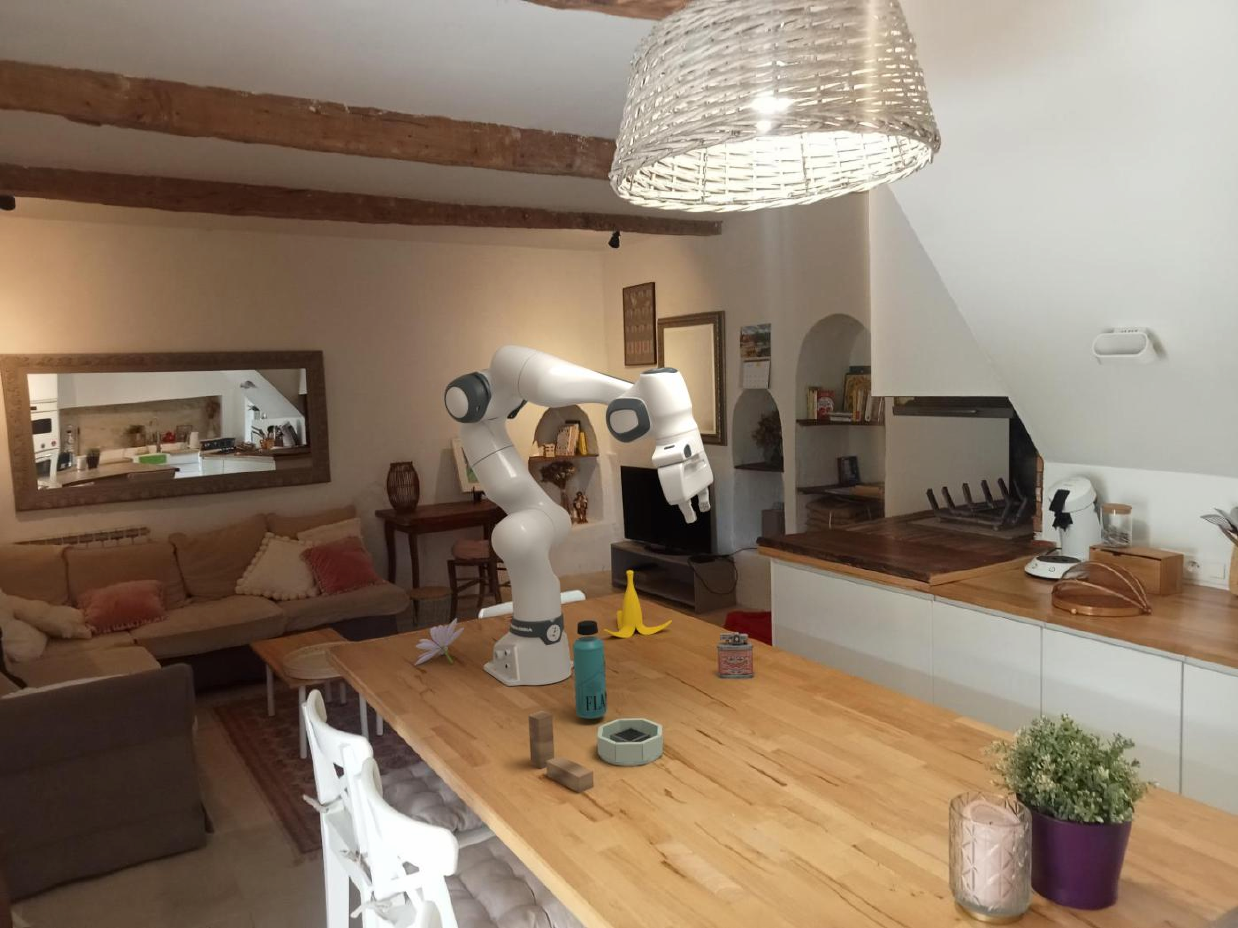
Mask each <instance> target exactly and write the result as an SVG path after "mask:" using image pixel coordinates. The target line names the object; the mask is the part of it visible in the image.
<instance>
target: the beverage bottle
mask: <svg viewBox="0 0 1238 928" xmlns="http://www.w3.org/2000/svg"><path fill="white" fill-rule="evenodd" d="M576 632H577V635H580V636H581V637H578V638H577V639H576V640H575V641H574V642H573V644H572V650H573V651H572V653H573V663H574V666H573V670H574V671H573V672H574V673H573V674H574V697H575V698H574V701H575V702H574V704H575V713H576V715H577V716H578V717H579V718H582V719H597V718H601V717H603V716H605V715H606V714H607V710H608V702H607V701H608V695H607V691H608V690H607V680H606V661H605V651H604V649H605V647H604V646H605V644H604V642H603V641H602V640H601V639H600V638H599V637H598V636H595V635H596V634H598V632H599V628H598V622H597V621H595V620H591V619H590V620H582V621H579V622H577V630H576ZM593 635H594V636H593Z"/></svg>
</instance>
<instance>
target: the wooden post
mask: <svg viewBox="0 0 1238 928" xmlns="http://www.w3.org/2000/svg"><path fill="white" fill-rule="evenodd" d="M527 718H528V731H529V732H528V733H529V751H530V752H529V753H530V754H529V755H530V765H532V766H534V767H536V768H538V769H540V770H542V769H544V768H547V766H546V761H547V760H550V759H553V758H555V746H554V742H555V741H554V725H553V724H554V723H553V714H552V713H549V712H546V711H544V710H539V711H537V712H534V713H531V714H528V717H527Z"/></svg>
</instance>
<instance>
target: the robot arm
mask: <svg viewBox="0 0 1238 928" xmlns="http://www.w3.org/2000/svg"><path fill="white" fill-rule="evenodd" d="M443 400H444V401H443V402H444V407H445V410H446V411H447V413H448V414H449V416H450V417H451V418H452V419H453V420H454V421H456V422H458V423H460V424H459V426H458V431H457V434H458V438H459V441H460V444H461V447H462V449H463V452H464V455H465V457H466V459H467V462H468V465H469V466H470V468H471V470H472V472H473V473H474V476H475V477H476V479H477V482H478V483H479V485H480V487H481V489H482V490H483V493H484V495H485V496H486V498H487V499H488V500H489V501H491V502H492V503H494V504H496V505H497V506H499V507H500V508H501V509H502V511H504V513H506V515H507V516H506V517H504V518H503V519H501V521H499V522H498V523H497V524H496V525H495V526H494V528H493V530H492V532H491V546H492V548H493V551H494V552H495V554H496V555H497V556H498V557H499V558H500V559H501V560H502V562H503V563H504V566H505V568H506V571H507V574H508V579H509V583H510V586H511V599H512V601H511V602H512V614H513V615H510V616H507V618H506V619H507V621H506V622H507V623H509V622H510V624H509V628H508V632H507V633H506V634H504V635H503V636H502V637H501V638H500V639H499V640H498V641H496V642H495V644H494V645H493V654H492V656H493V660H491V661H488V662H487V663H485V664H484V665H483V671H485V672H487V673H488V674H490V675H491V676H493V677H494V678H495V679H497V680H498V681H499V682H501V683H503V684H504V685H505V686H508V687H510V686H511V687H512V686H540V685H541V686H542V685H549V684H553V683H558V682H561V681H563V680H566V679H568V678H569V677H570V676H571V675H572V673H573V671H572V669H573V668H574V660H571V657H570V648H569V641H568V635H567V633H566V632H565V631H564V629H565V616H564V612H562V597H561V594H562V592H561V582H560V581H561V580H560V579H559V577H558V576H557V575H556V574H555V573H554V571H553V568H552V566H551V561H550V558H549V552H550V551H552V550H553V551H554V550H555V549H557V548H558V547H560V546H561V545H562V544H563V543H565V541H566V540H567V539H568V538H569V536H570V534H571V531H572V528H573V526H572V524H573V522H572V519H571V515H570V514H569V512H568V511H567V510H566V509H565V508H564V507H562V506H560V505H559V504H558V503H556V502H555V501H554V500H553V499H551V497H550V496H549V495H548V494H547V493H546V491H544V490H543V488H542V487H541V486H540V485H539V483H537V481H536V480H535V478H534V477H533V476H532V475H531V473H530V471H529V470H528V468H527V466H526V464H525V463H524V461H523V459H522V457H521V455H520V454H519V451H518V449H517V448H516V446H515V444H514V443H513V441H512V439H511V437H510V436H509V433H508V431H507V429H506V428H507V427H506V421H507V420H514V419H515V418H516V417H517V415H518V414H519V412H520V411H521V410H522V409H523V408H524V407H525V406H526V405H527V403H528V402H529V403H531V404H533V405H536V406H540V407H545V408H551V409H552V408H553V409H557V408H562V407H567V406H568V407H569V406H575V405H582V404H599V405H604V406H607V408H606V411H605V424H606V426H607V429H608V431H609V433H610V434H611V436H613V438H615V440H617V441H618V442H621V443H624V444H625V443H626V444H628V443H635V442H639V441H642V440H646V439H648V438H651V437H653V438H654V442H655V443H654V444H655V450H654V453H653V454H652V457H651V462H652V465H653V467H654V468H657V474H658V479H659V482H660V486H661V488H662V491H663V495H664V497H665V499H666V502H667V503H668V504H669V505H670V506H673V505H678V508H679V509H680V511H681V512H682V514H683V516H684V519H685V522H686V523H687V524H690V523H691V524H692V523H694V522H695V521H697V519H698V518H697V515H696V514H697V513H696V511H694V509H693V507H692V500H691V499H692V498H694V497H695V496H696V495H697V496H698V506H699V511H700V512H702V513H705V512H708V511H710V509H711V505H710V499H709V498H710V497H709V486H710V485H711V484H712V483H713V482H714V474H713V471H712V469H711V465H710V462H709V459H708V456H707V453H706V452H705V447H704V444H703V440H702V436H701V433H700V432H701V431H700V430H699V425H698V424H697V422H696V420H695V418H694V415H693V414H694V413H693V404H692V400H691V397H690V394H689V389H688V387H687V384H686V382H685V380H684V378H683V376H682V374H681V372H680V371H679V370H678V369H677V368H673V367H668V366H667V367H658V368H652V369H651V368H650V369H647V370H644V371H642V372H641V373H640V375H639V376H638V379H637V380H636V382H633V381H632V382H631V381H628V380H626V379H623V378H619V377H616V376H613V375H609V374H606V373H603V372H600V371H597V370H596V371H595V370H592V369H589V368H587V367H584V366H581V365H579V364H575V363H572V362H570V361H567V360H565V359H562V358H561V357H558V356H555V355H552V354H550V353H547V352H545V351H541V350H538V349H535V348H531V347H528V346H525V345H524V346H523V345H517V344H507V345H503V346H501V347H499V348H498V349H497V350H496V351H495V352H494V354H493V356H492V357H491V360H490V364H489V367H488V368H484V369H480V370H478V371H474V372H470V373H466V374H463V375H460V376H458V377H456V378H455V379H453V380H452V381H450V382H449V384H447V386H446V387H445V390H444V394H443Z"/></svg>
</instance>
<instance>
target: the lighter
mask: <svg viewBox="0 0 1238 928" xmlns="http://www.w3.org/2000/svg"><path fill="white" fill-rule="evenodd" d="M748 637H749V635H748V634H747V633H739V632H738V631H735V632H733V633H731V632H730V633H726V632H725V633H720V634H719V640H720V641H722V642H718V643H717V644H716V648H717V664H718V665H717V666H718V669H717V670H718V672H717V679H721V680H750V679H753V678H755V671H754V655H753V654H754V653H753V651H754V650H753V649H754V643H753V642H750V641H748V639H749V638H748ZM723 641H724V642H723Z"/></svg>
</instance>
